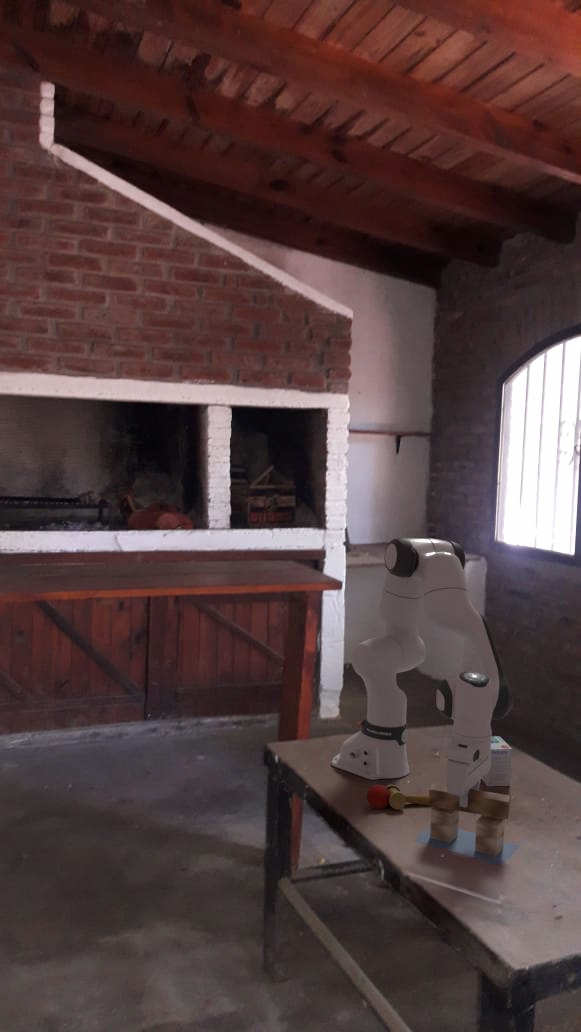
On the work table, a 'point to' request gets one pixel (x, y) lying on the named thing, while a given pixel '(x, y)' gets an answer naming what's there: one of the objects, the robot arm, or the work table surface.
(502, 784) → the light bulb box
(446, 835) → the pillar left
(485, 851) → the pillar right
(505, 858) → the board
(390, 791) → the kendama
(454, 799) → the beam
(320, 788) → the work table surface
